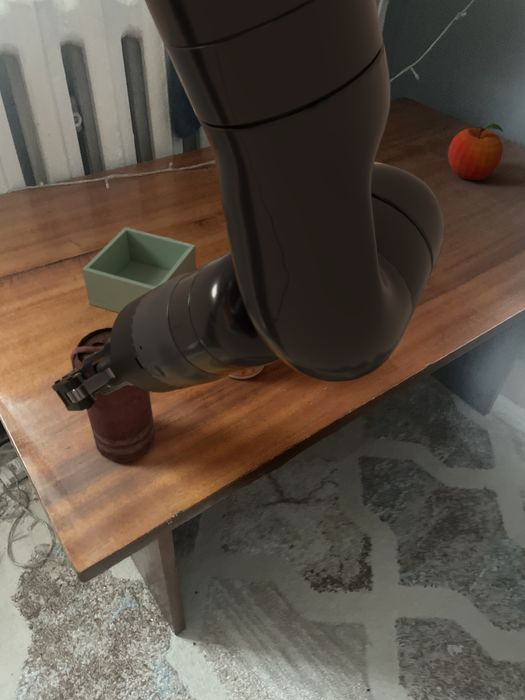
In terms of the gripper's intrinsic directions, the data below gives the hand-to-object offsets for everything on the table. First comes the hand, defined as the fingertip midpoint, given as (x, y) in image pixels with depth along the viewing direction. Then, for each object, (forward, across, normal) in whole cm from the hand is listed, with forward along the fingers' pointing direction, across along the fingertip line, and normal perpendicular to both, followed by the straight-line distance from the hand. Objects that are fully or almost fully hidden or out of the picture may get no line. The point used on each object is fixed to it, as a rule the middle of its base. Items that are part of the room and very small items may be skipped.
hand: (100, 366), depth 53 cm
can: (+6, 0, +9) cm, 11 cm away
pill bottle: (+5, -17, +10) cm, 20 cm away
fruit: (+6, -84, +9) cm, 85 cm away
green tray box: (+18, -18, -4) cm, 26 cm away
